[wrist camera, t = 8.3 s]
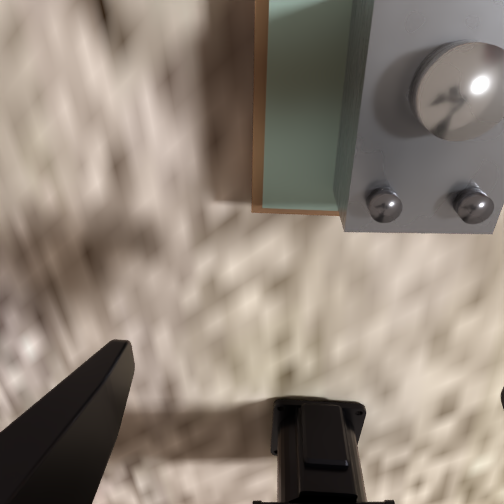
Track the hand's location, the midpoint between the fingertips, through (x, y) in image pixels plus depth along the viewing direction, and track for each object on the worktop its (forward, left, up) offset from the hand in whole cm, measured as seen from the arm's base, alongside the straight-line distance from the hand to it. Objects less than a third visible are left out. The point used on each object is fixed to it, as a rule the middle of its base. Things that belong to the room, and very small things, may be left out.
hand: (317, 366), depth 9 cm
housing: (+4, -4, -9) cm, 11 cm away
